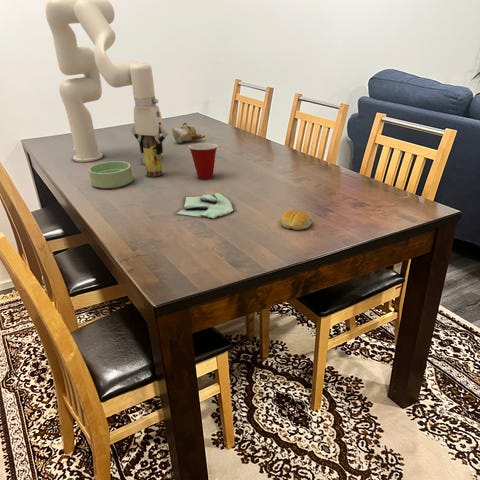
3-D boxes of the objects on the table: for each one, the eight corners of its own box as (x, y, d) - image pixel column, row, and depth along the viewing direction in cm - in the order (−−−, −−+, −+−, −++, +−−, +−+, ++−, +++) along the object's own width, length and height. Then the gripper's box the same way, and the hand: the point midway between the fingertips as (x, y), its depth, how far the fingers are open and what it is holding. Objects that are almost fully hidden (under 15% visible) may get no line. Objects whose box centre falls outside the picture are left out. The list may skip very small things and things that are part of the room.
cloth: (216, 222, 146) (216, 214, 145) (161, 210, 156) (160, 203, 155) (250, 200, 160) (250, 193, 159) (198, 191, 170) (197, 184, 169)
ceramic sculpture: (166, 122, 225) (194, 119, 232) (168, 141, 230) (195, 138, 237) (177, 126, 218) (205, 123, 225) (178, 146, 222) (206, 142, 229)
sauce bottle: (158, 178, 185) (151, 123, 173) (144, 177, 186) (136, 123, 175) (165, 172, 190) (159, 119, 178) (151, 171, 191) (144, 119, 180)
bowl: (83, 184, 181) (80, 168, 178) (117, 174, 191) (114, 159, 187) (107, 192, 173) (104, 176, 169) (141, 181, 182) (138, 165, 178)
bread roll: (288, 217, 147) (288, 205, 145) (314, 222, 143) (315, 210, 141) (275, 227, 142) (275, 214, 140) (302, 232, 138) (302, 219, 135)
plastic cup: (223, 173, 186) (221, 141, 179) (213, 182, 178) (211, 149, 171) (198, 171, 189) (195, 140, 183) (186, 180, 181) (183, 147, 174)
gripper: (171, 101, 173) (176, 152, 183) (130, 99, 179) (137, 148, 189) (160, 105, 167) (166, 157, 177) (119, 103, 173) (127, 153, 183)
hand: (151, 152), depth 183 cm, fingers closed on sauce bottle, 6 cm apart
